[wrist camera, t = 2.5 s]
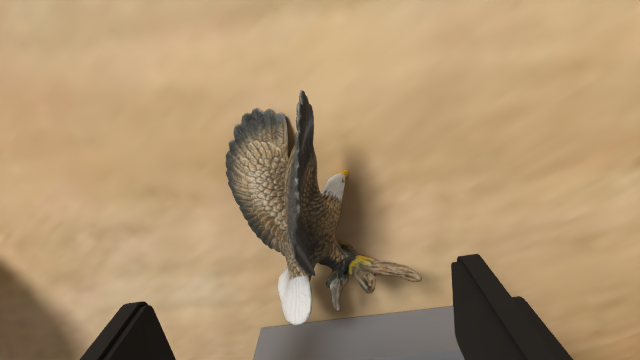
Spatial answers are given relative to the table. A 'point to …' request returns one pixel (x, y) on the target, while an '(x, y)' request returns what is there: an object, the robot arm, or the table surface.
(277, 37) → the table surface
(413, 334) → the tray
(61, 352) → the table surface
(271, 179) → the eagle figurine
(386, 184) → the table surface
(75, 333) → the table surface
